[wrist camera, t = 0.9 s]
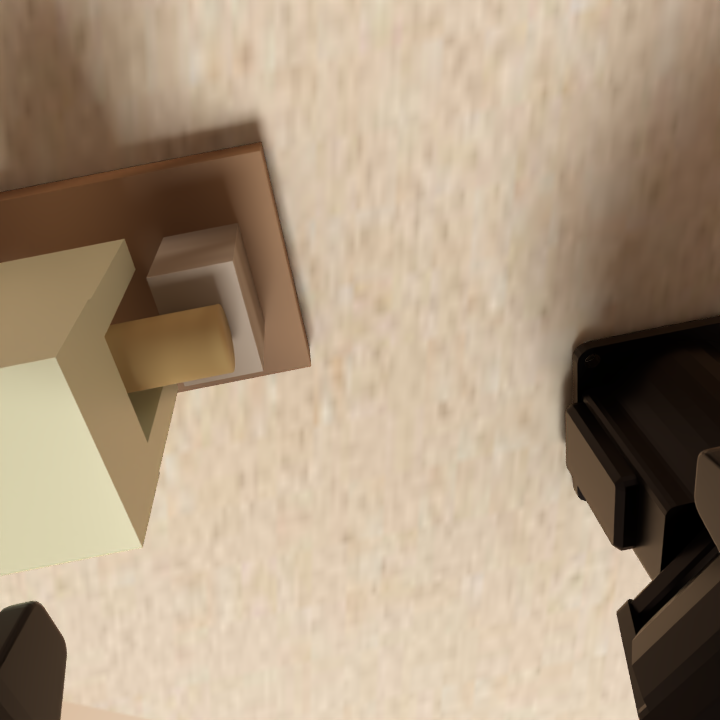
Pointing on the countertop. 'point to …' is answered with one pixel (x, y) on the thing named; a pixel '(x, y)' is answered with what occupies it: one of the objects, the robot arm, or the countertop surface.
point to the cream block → (72, 414)
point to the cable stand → (178, 264)
